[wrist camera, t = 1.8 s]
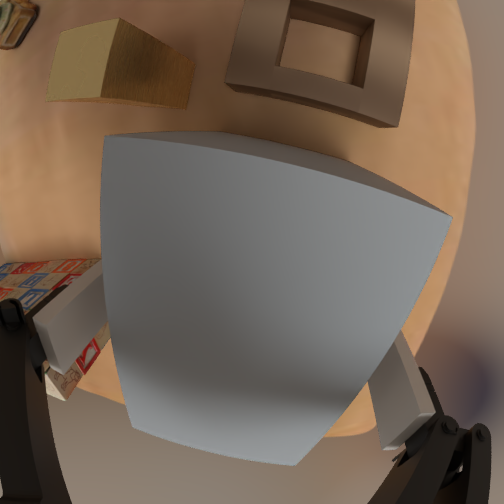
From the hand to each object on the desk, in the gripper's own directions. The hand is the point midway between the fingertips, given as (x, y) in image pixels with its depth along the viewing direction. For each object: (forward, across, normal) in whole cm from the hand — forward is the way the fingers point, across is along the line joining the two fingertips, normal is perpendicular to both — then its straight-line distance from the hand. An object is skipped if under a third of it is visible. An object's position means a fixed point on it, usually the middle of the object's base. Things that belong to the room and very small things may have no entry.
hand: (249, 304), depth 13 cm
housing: (+8, 0, 0) cm, 8 cm away
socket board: (+8, +1, +18) cm, 20 cm away
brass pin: (+8, -9, +10) cm, 16 cm away
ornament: (+8, -32, +20) cm, 39 cm away
